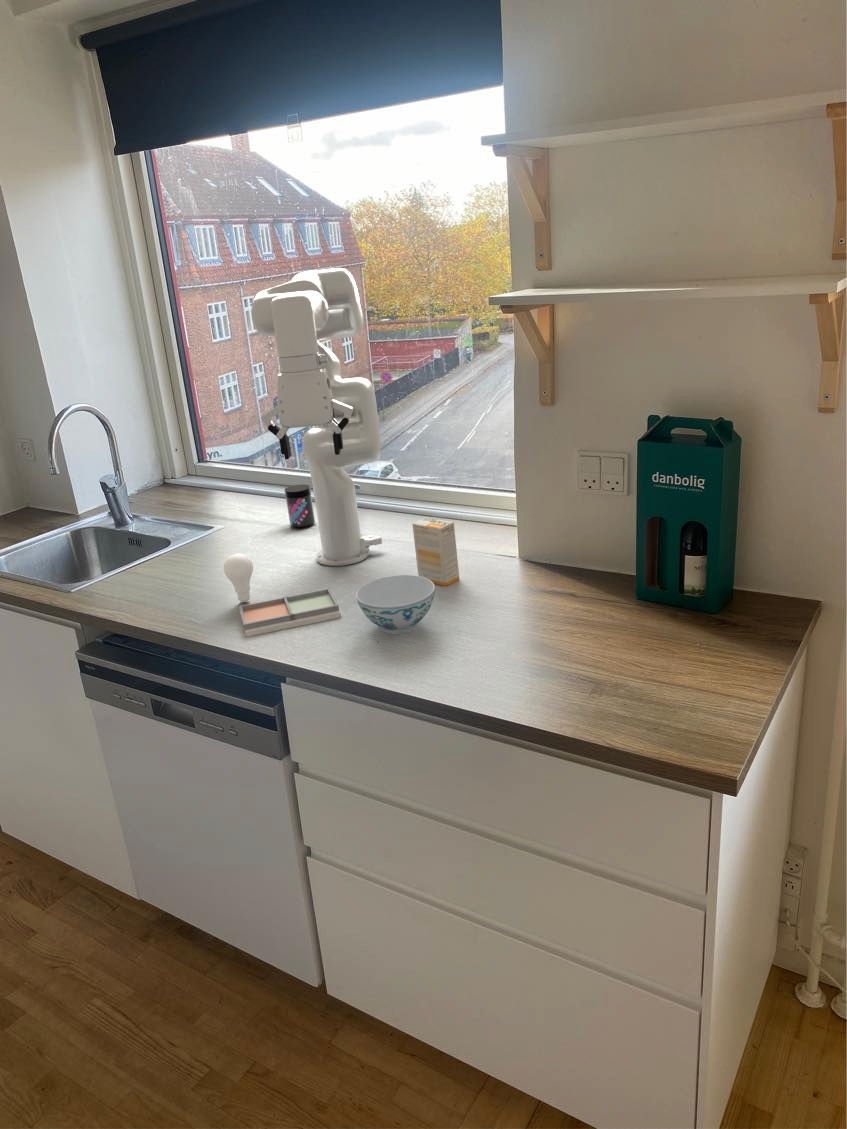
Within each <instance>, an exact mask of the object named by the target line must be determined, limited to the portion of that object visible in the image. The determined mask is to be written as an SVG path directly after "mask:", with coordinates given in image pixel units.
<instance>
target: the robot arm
mask: <svg viewBox="0 0 847 1129" xmlns="http://www.w3.org/2000/svg"><path fill="white" fill-rule="evenodd" d="M251 320H252V323H253V326H254V328H255V330H256V332H257V333H258V334H259V335H261V336H263V337H274V338H275V344H276V351H277V356H278V364H279V371H280V373H278V374H277V378H276V380H277V381H276V383H277V384H276V387H277V388H276V392H277V393H276V394H277V395H276V396H277V405H276V406H275V407H273V408H271V409H270V410H269V411H267V412H266V413H265V414H263V415H262V416H261V421H262V423H263V424H264V425H265V426H266V428H267V430H268V431H269V432H270V433H271V434H272V435H274V436H275V437H276V438H277V439H278V442H279V447H280V448H279V449H280V453H281V455H283V456H284V460H289V459H290V458H291V457H292V451H291V449H292V448H291V445H290V443H291V442H290V437H289V436H288V435H287V432H288V430H289V429H295V428H308V427H311V428H310V429H308V430H307V431H306V432H305V433H304V434H303V437H302V449H303V454H304V456H305V460H306V464H307V466H308V470H309V474H310V478H311V482H312V483H311V484H312V489H313V490H312V492H313V497H314V502H315V509H316V515H317V523H318V530H319V538H320V543H321V550H320V551H318V553H317V554H316V560H317V562H318V563H319V564H322V565H324V566H329V567H337V566H338V567H339V566H340V567H342V566H347V565H352V564H356V563H359V562H362V561H364V560H365V559H367V558H368V557H369V556H370V554H371V552H370V547H371V546H378V545H382V544H383V540H382V537H381V535H379V536H374V535H373V534H371V535H367V536H364V535H362V533H361V526H360V517H359V512H358V502H357V496H356V486H355V482H354V481H353V478H352V477H351V476H350V475H349V474H348V473H347V472H346V471H345V470H344V469H343V468H342V467H347V466H348V467H349V466H357V465H366V464H372V463H375V462H377V461H378V460H379V459H380V456H381V454H382V453H381V450H382V444H381V433H380V423H379V414H378V404H377V398H376V392H375V389H374V386H373V384H372V382H371V381H370V380H369V379H367V378H364V377H351V378H342V370H341V363H340V360H339V359H338V357H337V356H336V355H335V354H334V352H332V351H331V350H330V349H329V348H328V347H326V346H325V345H323V344H322V343H321V342H320V341H328V340H337V339H346V338H348V339H349V338H354V337H356V336H359V334H361V333H362V331H363V326H364V318H363V311H362V307H361V302H360V295H359V292H358V286H357V285H356V281H355V279H354V277H353V274H351V272H350V271H348V269H346V268H342V267H336V268H327V269H319V270H317V269H316V270H308V271H302V272H299V273H298V274H295V276H293V277H292V279H291V280H290V281H288V282H285V283H283V284H280V285H277V286H273V287H270V288H266V289H265V290H262V291H259V292H258V293H257V294H256V295H255V297H254V298H253V302H252V305H251ZM277 415H278V418H279V422H280V424H281V427H279V426H277V425H276V423H274V421H273V420H272V419H273V418H274V417H275V416H277ZM350 421H354V422H350Z"/></svg>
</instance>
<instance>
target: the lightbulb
mask: <svg viewBox="0 0 847 1129" xmlns="http://www.w3.org/2000/svg"><path fill="white" fill-rule="evenodd" d="M253 571H254V563H253V562H252V560H251V558H250V557H249V556H248V555H246V554H244V553H240V552H239V553H234V554H231V555H229V556H228V557H227V558H226V560H225V561H224V563H223V572H224V574H225V576H226V578H227V579H228V580H229V582H231V584H232V586H233V588H234V591H235V593H236V596H237V599H238V601H239V602H241V603H247V602H248V601H249V600H250V599H251V594H250V589H251V588H250V587H251V586H250V584H251V578H252V575H253Z"/></svg>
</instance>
